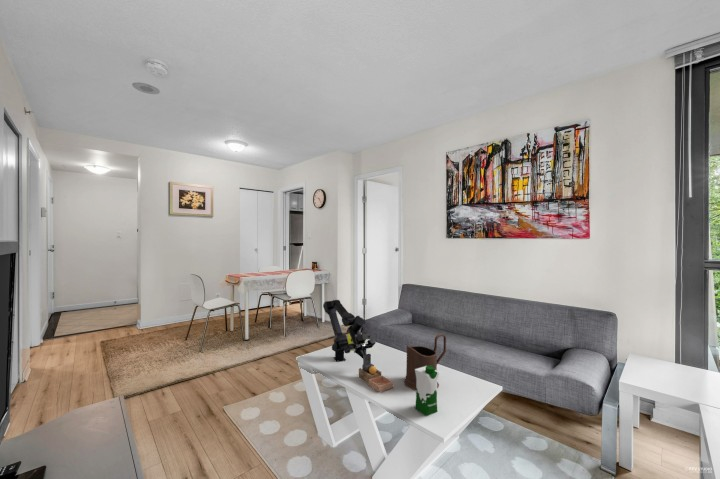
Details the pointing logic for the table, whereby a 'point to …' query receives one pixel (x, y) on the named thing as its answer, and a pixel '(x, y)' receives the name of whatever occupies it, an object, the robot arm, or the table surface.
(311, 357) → the table surface
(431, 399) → the milk carton
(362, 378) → the track
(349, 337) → the yellow toy chassis
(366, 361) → the plunger
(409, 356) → the brown pitcher
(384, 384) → the pink square tray
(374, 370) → the ball
